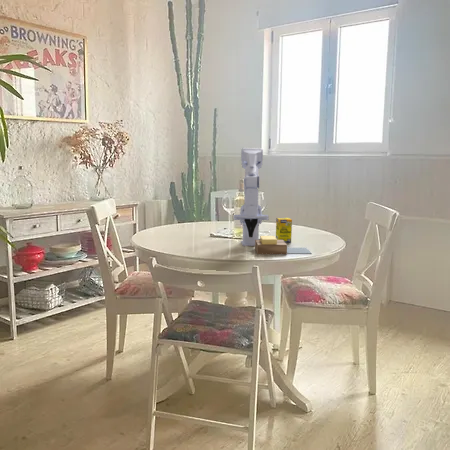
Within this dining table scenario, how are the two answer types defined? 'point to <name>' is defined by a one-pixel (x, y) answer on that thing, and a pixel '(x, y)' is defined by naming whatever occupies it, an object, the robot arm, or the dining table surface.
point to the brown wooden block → (271, 247)
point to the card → (268, 240)
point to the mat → (298, 251)
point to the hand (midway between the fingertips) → (250, 236)
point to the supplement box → (284, 229)
